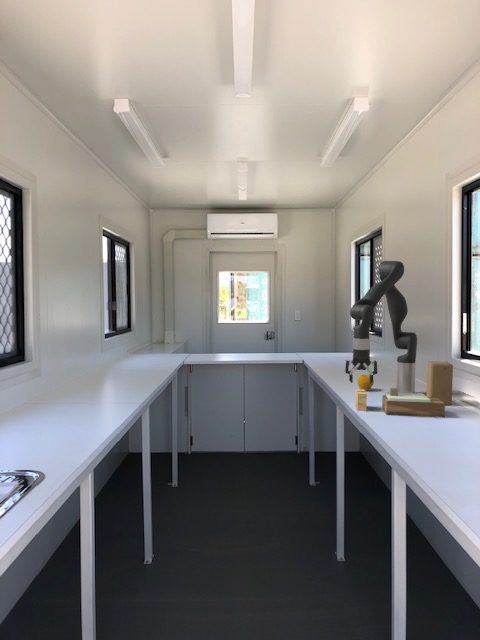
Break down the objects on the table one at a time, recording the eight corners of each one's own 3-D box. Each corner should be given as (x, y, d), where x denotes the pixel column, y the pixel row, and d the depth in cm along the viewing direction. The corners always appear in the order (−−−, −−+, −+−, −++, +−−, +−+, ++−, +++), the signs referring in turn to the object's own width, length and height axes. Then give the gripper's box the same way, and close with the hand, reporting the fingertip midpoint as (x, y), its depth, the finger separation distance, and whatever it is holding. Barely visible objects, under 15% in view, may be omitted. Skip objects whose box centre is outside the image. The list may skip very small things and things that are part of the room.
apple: (375, 390, 250) (376, 374, 249) (369, 392, 243) (369, 376, 243) (361, 388, 255) (361, 372, 255) (354, 390, 249) (354, 374, 249)
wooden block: (452, 405, 214) (453, 364, 213) (429, 404, 216) (431, 363, 215) (446, 401, 224) (448, 361, 223) (425, 400, 226) (426, 360, 225)
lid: (384, 394, 208) (384, 385, 208) (423, 396, 206) (423, 387, 206) (389, 400, 196) (389, 391, 195) (430, 402, 193) (430, 392, 193)
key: (355, 406, 213) (355, 389, 212) (364, 406, 212) (364, 389, 212) (357, 410, 204) (357, 393, 203) (366, 411, 203) (366, 393, 203)
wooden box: (382, 408, 208) (382, 395, 208) (436, 410, 205) (437, 397, 204) (386, 414, 197) (386, 401, 196) (444, 417, 193) (444, 403, 193)
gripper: (376, 347, 209) (375, 381, 210) (345, 346, 212) (344, 380, 213) (378, 349, 202) (378, 384, 203) (346, 348, 204) (345, 384, 205)
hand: (361, 382), depth 208 cm, fingers open, 8 cm apart
